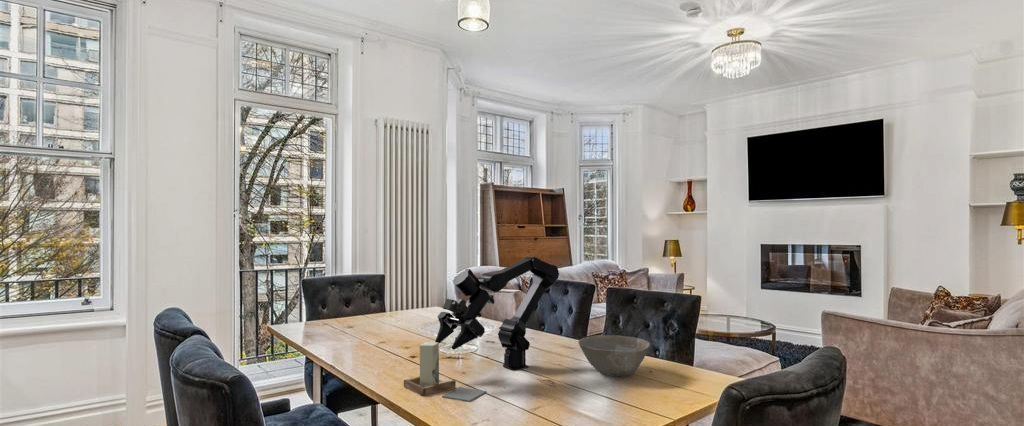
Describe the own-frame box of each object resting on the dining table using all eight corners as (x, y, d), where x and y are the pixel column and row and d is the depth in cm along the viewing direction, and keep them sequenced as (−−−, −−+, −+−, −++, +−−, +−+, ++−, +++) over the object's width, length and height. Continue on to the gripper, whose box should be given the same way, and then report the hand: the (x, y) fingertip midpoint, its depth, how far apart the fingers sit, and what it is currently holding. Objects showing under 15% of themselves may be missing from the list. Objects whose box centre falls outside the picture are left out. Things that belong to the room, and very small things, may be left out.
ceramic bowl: (622, 389, 150) (622, 354, 150) (564, 372, 167) (563, 341, 168) (665, 374, 165) (665, 342, 165) (607, 360, 182) (607, 331, 182)
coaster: (459, 388, 153) (459, 386, 153) (486, 392, 148) (486, 390, 148) (442, 397, 145) (442, 395, 145) (469, 402, 140) (469, 400, 140)
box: (433, 390, 151) (433, 345, 151) (419, 389, 151) (418, 345, 152) (439, 385, 156) (439, 341, 156) (425, 384, 157) (425, 341, 157)
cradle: (435, 379, 161) (435, 373, 161) (455, 387, 153) (455, 381, 153) (403, 386, 154) (403, 380, 154) (422, 396, 146) (422, 388, 146)
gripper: (442, 286, 168) (412, 325, 161) (476, 291, 154) (444, 334, 146) (462, 308, 173) (434, 347, 166) (497, 315, 159) (467, 358, 151)
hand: (444, 346), depth 157 cm, fingers open, 9 cm apart
